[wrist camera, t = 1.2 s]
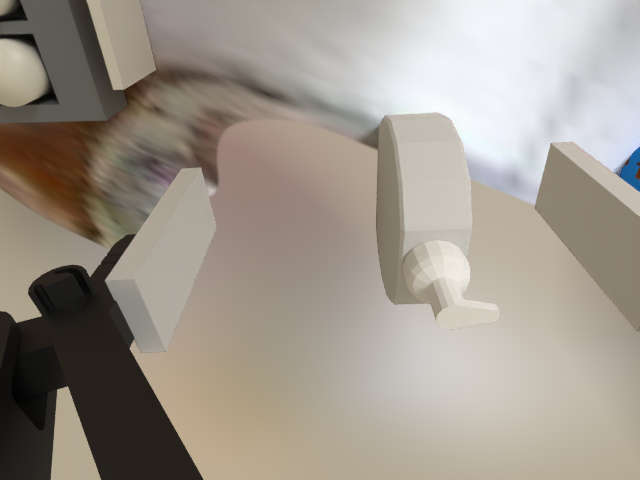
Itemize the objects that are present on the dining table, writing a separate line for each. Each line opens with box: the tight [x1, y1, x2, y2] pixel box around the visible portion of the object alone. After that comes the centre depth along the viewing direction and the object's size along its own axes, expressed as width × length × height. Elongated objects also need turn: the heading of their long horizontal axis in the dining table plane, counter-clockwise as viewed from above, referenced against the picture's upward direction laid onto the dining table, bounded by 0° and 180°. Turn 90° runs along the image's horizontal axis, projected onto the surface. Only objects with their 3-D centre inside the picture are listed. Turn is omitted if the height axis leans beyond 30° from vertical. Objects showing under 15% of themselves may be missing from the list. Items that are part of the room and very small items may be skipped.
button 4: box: [0, 36, 53, 107], centre depth 32 cm, size 5×5×3 cm
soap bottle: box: [376, 113, 500, 330], centre depth 33 cm, size 16×5×20 cm, turn 3°
